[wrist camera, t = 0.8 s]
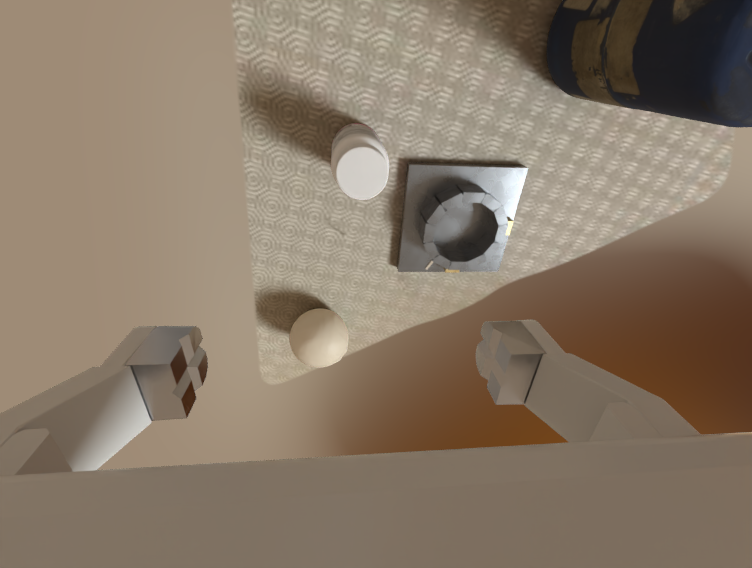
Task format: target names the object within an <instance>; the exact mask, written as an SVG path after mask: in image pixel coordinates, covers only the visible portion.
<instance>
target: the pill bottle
mask: <svg viewBox="0 0 752 568" xmlns="http://www.w3.org/2000/svg"><path fill="white" fill-rule="evenodd" d="M331 153H332V154H331V170H332V174H333V177H334V179H335V181H336V182H337V184H338V185H339V187H340V189H341V190H342V191H343V192H344V193H345V194H346V195H348V196H349V197H351V198H354V199H358V200H366V199H370V198H373V197H375V196H376V195H378V194H379V193H380V192H381V191H382V190H383V188H384V187H385V185H386V183H387V180H388V172H389V158H388V155H387V152H386V150H385V148H384V146H383V144H382V142H381V141H380V139H379V137H378V135H377V134H376V132H375V131H374V130H373V129H371V128H370V127H368V126H366V125H364V124H360V123H352V124H349V125H346V126H344V127H343V128H341V129H340V130H339V131H338V132H337V134H336V135H335V137H334V139H333V142H332V150H331Z"/></svg>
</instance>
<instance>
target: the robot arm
mask: <svg viewBox="0 0 752 568" xmlns="http://www.w3.org/2000/svg"><path fill="white" fill-rule="evenodd" d="M481 335H482V337H483V338H484V339H483V340H482V341H481V342H480V343H479V344H478V345H477V351H476V364H477V367H478V370H479V372H480V374H481V376H483V377H484V378H485V379H487V380H488V385H487V388H488V390H489V392H490V394H491V396H492V398H493V400H494V402H495V404H496V405H501V404H525V406H526V407H527V408H528V409H529V410H531V411H532V412H533V413H534V414H535V415H537V416H538V417H539V418H540V419H542V420H543V421H544V422H545V423H546V424H548V425H549V426H550V427H551V428H553V429H554V430H555V431H556V432H558V433H559V434H560V435H561V436H562V437H563V438H565V439H566V440H567V441H568V442H570V443H556V444H540V445H524V446H507V447H488V448H470V449H454V450H435V451H417V452H400V453H383V454H367V455H350V456H332V457H316V458H299V459H282V460H266V461H247V462H230V463H213V464H196V465H180V466H161V467H144V468H129V469H110V470H97V469H98V468H99V467H100V466H101V465H103V464H104V463H105V462H106V461H107V460H108V459H110V458H111V457H112V456H113V455H114V454H115V453H117V452H118V451H119V450H120V449H121V448H122V447H124V446H125V445H126V444H127V443H128V442H129V441H131V439H133V438H134V437H135V436H136V435H137V434H139V433H140V432H141V431H142V430H143V429H144V428H146V427H147V426H148V425H149V424H150V423H151V421H155V420H168V419H183V418H187V417H188V415H189V413H190V411H191V409H192V406H193V404H194V402H195V400H196V395H195V390H197V389H198V388H199V387H201V386H202V385H203V383H204V380H205V378H206V374H207V368H208V362H207V356H206V352H205V351H204V350H203V349H202V348H201V347H200V346H199V344H200V343H201V341H202V339H203V338H202V335H201V331H200V329H199V328H198V327H196V326H158V327H157V326H141V327H137V328H134V329H133V330H132V331H131V332H130V333H129V334H128V335H127V337H126V338H125V339H124V340H123V341H122V342H121V343H120V345H119V346H118V347H117V348H116V349H115V350H114V351H113V352H112V353H111V355H110V356H109V357H108V358H107V359H106V360H105V361H104V363H103V364H102V365H101V366H100V367H92V368H90V369H88V370H86V371H84V372H82V373H80V374H78V375H76V376H75V377H72V378H70V379H68V380H66V381H64V382H62V383H60V384H58V385H56V386H54V387H52V388H50V389H48V390H46V391H44V392H42V393H40V394H39V395H37V396H35V397H32V398H30V399H29V400H26V401H25V402H22V403H20V404H19V405H17V406H15V407H13V408H11V409H9V410H7V411H5V412H3V413H1V414H0V568H752V432H745V433H744V432H743V433H727V434H711V435H701V434H699V433H698V432H697V431H696V430H695V429H694V428H693V427H692V426H691V425H690V424H689V423H688V422H687V421H685V419H683V418H682V417H681V416H680V415H679V414H678V413H677V412H676V411H675V410H674V409H673V408H672V407H671V406H670V405H669V404H667V403H666V402H665V401H664V400H663V399H661V398H659V397H657V396H655V395H653V394H651V393H649V392H647V391H645V390H643V389H641V388H639V387H637V386H635V385H633V384H631V383H629V382H627V381H625V380H623V379H621V378H619V377H617V376H615V375H613V374H611V373H609V372H607V371H605V370H603V369H601V368H599V367H597V366H595V365H593V364H591V363H589V362H587V361H585V360H583V359H581V358H579V357H577V356H575V355H573V354H566V353H565V352H564V351H563V350H562V349H561V348H560V346H559V345H558V344H557V343H556V342H555V341H554V340H553V339H552V337H550V335H549V334H548V333H547V332H546V331H545V330H544V329H543V327H542V326H541V325H540V324H539V323H538V322H537V321H535V320H517V321H496V322H484V324H483V326H482V329H481Z"/></svg>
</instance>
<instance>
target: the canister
mask: <svg viewBox="0 0 752 568" xmlns="http://www.w3.org/2000/svg"><path fill="white" fill-rule="evenodd" d="M547 63H548V68H549V71H550V74H551V76H552V78H553V80H554V82H555V83H556V84H557V86H558V87H559V88H560V89H561V90H562V91H564V92H565V93H567V94H569V95H571V96H573V97H576V98H580V99H584V100H590V101H595V102H600V103H604V104H610V105H616V106H621V107H625V108H632V109H639V110H645V111H650V112H655V113H660V114H665V115H670V116H676V117H681V118H686V119H691V120H697V121H702V122H707V123H712V124H718V125H724V126H728V127H752V0H563V1H562V2H561V4H560V6H559V8H558V10H557V12H556V14H555V16H554V19H553V21H552V24H551V28H550V31H549V35H548V42H547Z"/></svg>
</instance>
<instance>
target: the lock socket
mask: <svg viewBox="0 0 752 568" xmlns="http://www.w3.org/2000/svg"><path fill="white" fill-rule="evenodd" d="M527 171H528V168H527V167H525V166H518V165H487V164H455V163H423V162H408V163H407V173H406V183H405V193H404V203H403V213H402V223H401V233H400V243H399V253H398V263H397V269H398V272H464V271H498V270H499V267H500V264H501V260H502V257H503V253H504V250H505V246H506V243H507V239H508V236H509V235H510V231H511V228H512V224H513V219H514V215H515V212H516V209H517V205H518V202H519V198H520V195H521V191H522V188H523V185H524V181H525V178H526V174H527Z"/></svg>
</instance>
